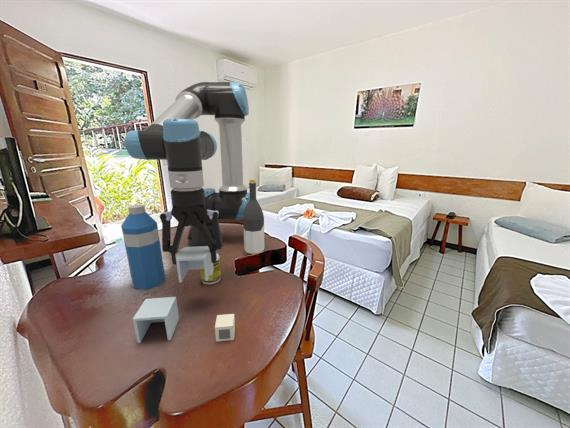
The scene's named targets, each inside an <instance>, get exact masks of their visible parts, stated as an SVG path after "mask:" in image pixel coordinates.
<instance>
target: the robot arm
mask: <svg viewBox="0 0 570 428" xmlns="http://www.w3.org/2000/svg"><path fill="white" fill-rule="evenodd" d="M249 110H250V109H249V101H248V96H247V92H246V88H245V86H244V85H243V83H241V82H236V81H235V82H233V81H202V82H201V81H200V82H197V83H194V84H192V85H190V86H188V87H186V88H185V89H183V90H181V91H180V92H179V93H178V94H177V95H176V97H175V101H174V102H173V103H172V104H171V105H170V106H169V107H168V108H167V109H165V111H163V112H161V114H160V115H159V116H158V117H157V118H156V119H154V120H153V121H152V122H151V123H149V125H147V127H146V128H144V129H143V130H142V129H135V130H128V131H127V133H126V134H125V137H124V147H125V149H126V151H127V153H128V155H129V156H130V157H131V158H132V159H134V160H135V159H136V160H146V161H149V160H154V161H155V160H162V161H163V160H164V161H166V163H167V174H168V179H169V187H170V188H171V191H170V198H171V205H172V208H171V210H168V211H163V212H162V213H160V214H159V219H160V222H161V225H162V226H161V231H162V233H161V235H162V236H161V237H162V239H161V241H162V242H161V244H162V245H161V246H162V247H161V248H162V249H161V251H162V252H164V253H165V252H166V253H170V255H171V262H172V264H173V265H176V266H177V262H176V258H177V257H178V255H179V254H180V252H181V250H182V249H179V246H180V244H181V239H182V238H183V233H184V230H185V227H189V228H188V229H189V230H188V234H187V238H186V241H187V245H189V247H199V246H208V247H209V250H208V252H207V255H208V266H209V276H210V275H212V274H213V271H214V268H213V262H216V259H217V255H216V250H217V251H218V250H221V249H222V248H223V244H224V243H223V238H224V237H223V233H222V231H221V227H220V222H219V220H233V221H234V220H236V221H238V220H239V221H240V220H243V215H244V211H245V208H246V205H247V204H248V202H249V199H250V192H249V191H248V187H246V186H245V184H244V172H243V170H244V168H243V167H244V166H243V165H244V164H243V142H242V141H243V139H242V125H243V124H244V122H245V121H246V119H245V117H247V116H249V113H250V111H249ZM200 116H214V121H216V123H217V124H218V129H219V131H218V132H219V144H220V145H219V147H220V162H221V163H220V165H221V179H222V181H221V182H222V183H221V184H222V185H221V186H220V187H219V188H218V192H216V191H217V190H216V189H215V188H203V187H204V185H205V184H204V174H203V173H204V172H203V160H204V161H205V160H206V161H207V160H209V159H210V158H211V159H212V157H213V156H214V155H215V154H216V152H217V150H218V144H217V141H216V139H215V137H214V136H213V135H212V134H211V133H209V132H207V131H205V130H200V126H199V123H198V121H197V120H196V119H198V118H199V117H200ZM172 218H174V219H175V220H176V221H177V227H176V231H175V234H174V238H173V242H171V234H172V233H171V230H172V229H171V228H172V227H171V225H172V223H171V220H172ZM171 243H172V245H171ZM176 270H177V269H176ZM177 272H178V270H177Z"/></svg>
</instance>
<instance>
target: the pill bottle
mask: <svg viewBox="0 0 570 428" xmlns="http://www.w3.org/2000/svg"><path fill="white" fill-rule="evenodd" d="M217 252H218V250H216V255H217V259H216V262H213V268H214V271H213V274H212V275H210V276H209V279H208V281H206V280H205V269H199V271H200V280H201V283H202V284H204V285H215V284H217V283H219V282H220V281H221V279H222V271H221V258H220V255H219V253H217Z"/></svg>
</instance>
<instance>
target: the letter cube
mask: <svg viewBox="0 0 570 428" xmlns="http://www.w3.org/2000/svg"><path fill="white" fill-rule="evenodd" d="M214 324H215V326H214V333H215V334H214V335H215V342H226V341H235V333H236V332H235V331H236V322H235V313H227V314H217V315H216V320H215V323H214Z"/></svg>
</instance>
